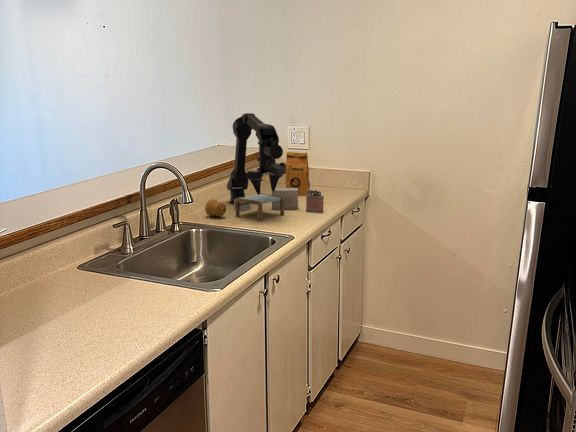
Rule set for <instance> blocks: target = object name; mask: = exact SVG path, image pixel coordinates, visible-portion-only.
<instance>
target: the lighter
mask: <svg viewBox="0 0 576 432" xmlns="http://www.w3.org/2000/svg"><path fill="white" fill-rule="evenodd" d="M308 193H310V194H308V195H306V196H305V198H306V199H305V200H306V203H305V206H306V207H305V209H306V210H305V212H306V213H313V214H323V213H324V198H325V196H324V195H322V191H321V190H318V189H315V190H314V189H310V190H308Z"/></svg>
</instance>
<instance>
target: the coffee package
mask: <svg viewBox="0 0 576 432" xmlns="http://www.w3.org/2000/svg"><path fill="white" fill-rule="evenodd" d="M285 156H286V160H285V164H286V171H285V175H284V176H285V188H298V197H301V196H302V197H306V195H310V194H311V193H308V190H311V189H310V187H311V186H310V184H311V183H310V168H309V157H308V153H307V152H292V151H291V152H290V151H287V152H286V155H285Z"/></svg>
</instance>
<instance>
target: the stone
mask: <svg viewBox="0 0 576 432" xmlns="http://www.w3.org/2000/svg"><path fill="white" fill-rule="evenodd" d="M240 198H243V197H240ZM240 203H241V202H240ZM233 204H234V205H233V206H234V209H233V210H235V211H236V199H234V203H233ZM250 210H251V204H246V205H242V206H240V212H245V211H250Z"/></svg>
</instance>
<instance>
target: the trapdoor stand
mask: <svg viewBox="0 0 576 432" xmlns="http://www.w3.org/2000/svg"><path fill="white" fill-rule="evenodd" d="M260 194H264V195H269V196H275V195H272V194H270V193H269V194H268V193H262V192H260ZM275 197H280V196H275ZM240 202H241V203H240ZM246 204H250V205H254V206H257V216H258V217H257V222H260V223H261V222H263V204H262V202H258V201H253V200H247V199H242V198H236V210H235V217H237V218H239V217H240V216H241V213H240V212H241V211H240V206H242V205H246ZM279 212H280V213H279V215H280V217H282V216H285V209H284V197H281V200H280V209H279Z"/></svg>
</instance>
